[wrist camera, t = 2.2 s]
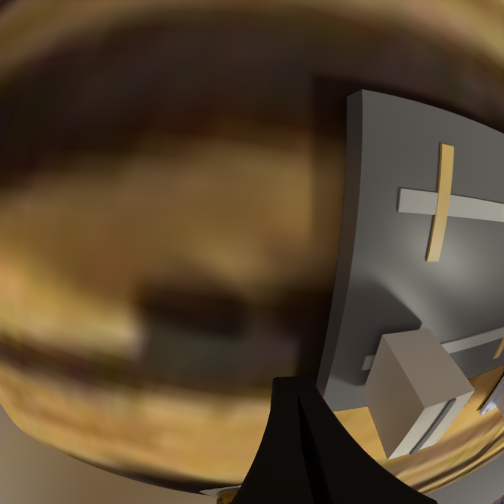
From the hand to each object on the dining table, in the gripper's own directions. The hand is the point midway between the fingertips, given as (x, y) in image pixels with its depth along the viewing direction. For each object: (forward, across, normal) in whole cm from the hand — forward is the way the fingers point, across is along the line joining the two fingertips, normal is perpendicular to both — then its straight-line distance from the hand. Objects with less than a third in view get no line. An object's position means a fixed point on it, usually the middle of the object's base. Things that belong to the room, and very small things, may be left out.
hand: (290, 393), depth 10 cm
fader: (+1, -5, 0) cm, 5 cm away
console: (+3, -10, -4) cm, 11 cm away
